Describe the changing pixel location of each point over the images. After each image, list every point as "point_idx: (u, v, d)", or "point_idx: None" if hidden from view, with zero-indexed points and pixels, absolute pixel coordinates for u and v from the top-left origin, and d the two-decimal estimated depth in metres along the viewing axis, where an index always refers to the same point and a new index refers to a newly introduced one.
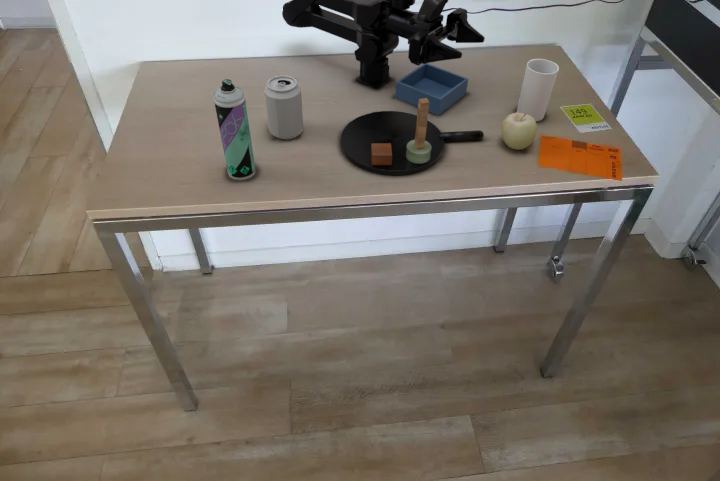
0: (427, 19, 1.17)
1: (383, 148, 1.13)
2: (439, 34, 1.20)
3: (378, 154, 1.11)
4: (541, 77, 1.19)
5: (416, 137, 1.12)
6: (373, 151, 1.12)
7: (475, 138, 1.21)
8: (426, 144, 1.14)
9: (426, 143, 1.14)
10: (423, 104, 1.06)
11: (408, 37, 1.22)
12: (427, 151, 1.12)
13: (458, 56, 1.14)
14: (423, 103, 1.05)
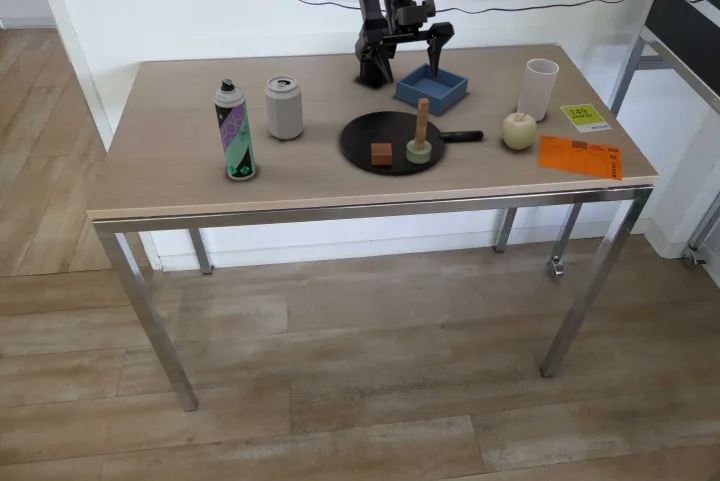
0: (398, 22, 1.08)
1: (383, 148, 1.13)
2: (405, 39, 1.11)
3: (378, 154, 1.11)
4: (541, 77, 1.19)
5: (416, 137, 1.12)
6: (373, 151, 1.12)
7: (475, 138, 1.21)
8: (426, 144, 1.14)
9: (426, 143, 1.14)
10: (423, 104, 1.06)
11: None
12: (427, 151, 1.12)
13: (389, 81, 1.11)
14: (423, 103, 1.05)
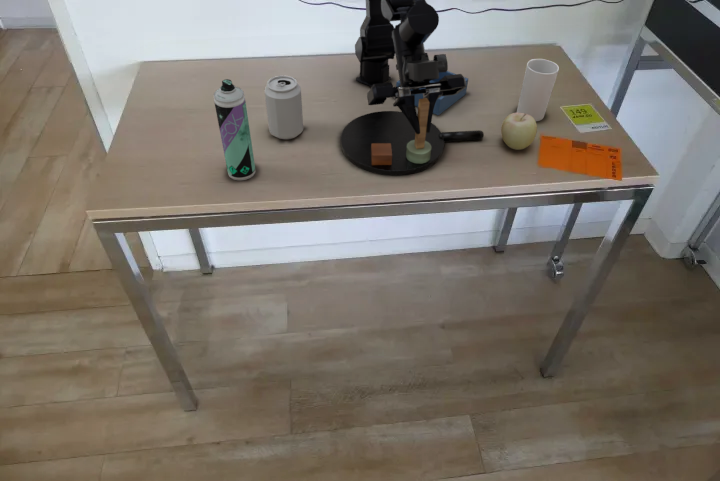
0: (408, 76, 1.05)
1: (383, 148, 1.13)
2: (415, 91, 1.09)
3: (378, 154, 1.11)
4: (541, 77, 1.19)
5: (416, 137, 1.12)
6: (373, 151, 1.12)
7: (475, 138, 1.21)
8: (426, 144, 1.14)
9: (426, 143, 1.14)
10: (423, 104, 1.06)
11: None
12: (427, 151, 1.12)
13: (416, 131, 1.10)
14: (423, 103, 1.05)
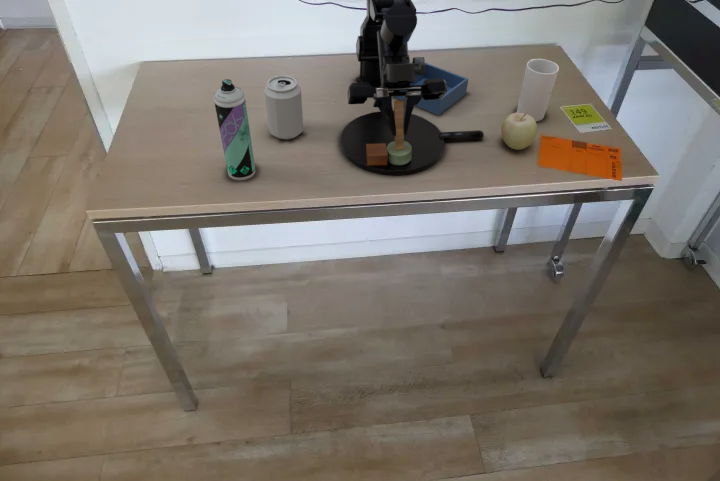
0: (386, 77, 1.05)
1: (378, 148, 1.13)
2: (395, 93, 1.08)
3: (374, 154, 1.11)
4: (541, 77, 1.19)
5: (395, 138, 1.11)
6: (368, 152, 1.12)
7: (475, 138, 1.21)
8: (406, 145, 1.13)
9: (407, 144, 1.13)
10: (397, 106, 1.05)
11: None
12: (406, 153, 1.11)
13: (392, 133, 1.09)
14: (396, 105, 1.04)
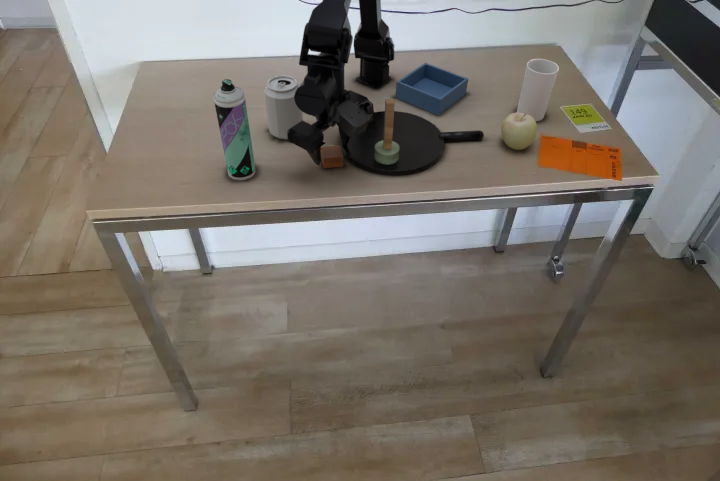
0: (337, 123, 1.05)
1: (333, 151, 1.14)
2: None
3: (329, 157, 1.12)
4: (541, 77, 1.19)
5: (383, 137, 1.11)
6: (324, 154, 1.13)
7: (475, 138, 1.21)
8: (394, 146, 1.13)
9: (395, 145, 1.14)
10: (388, 105, 1.05)
11: None
12: (393, 152, 1.12)
13: (315, 163, 1.12)
14: (387, 103, 1.05)
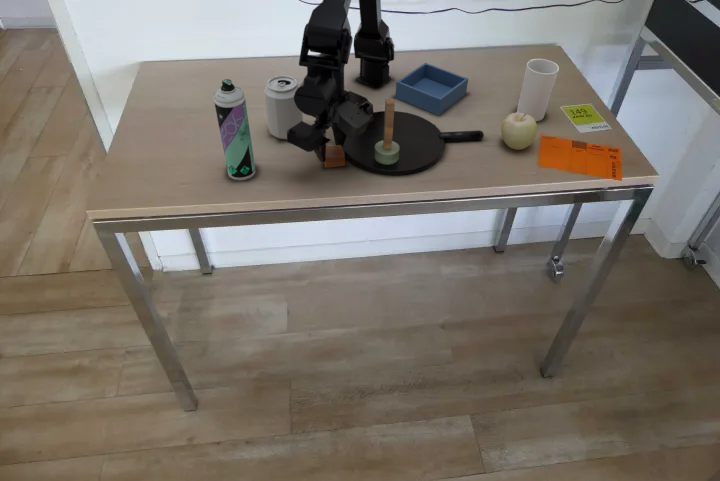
0: (336, 124, 1.05)
1: (335, 150, 1.14)
2: None
3: (331, 156, 1.12)
4: (541, 77, 1.19)
5: (383, 137, 1.11)
6: None
7: (475, 138, 1.21)
8: (394, 146, 1.13)
9: (395, 145, 1.14)
10: (388, 105, 1.05)
11: None
12: (393, 152, 1.12)
13: (320, 159, 1.13)
14: (387, 103, 1.05)
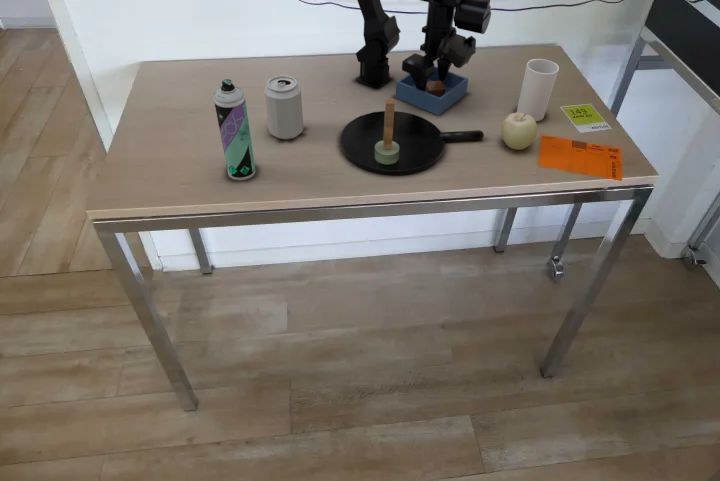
0: (445, 55, 1.23)
1: (436, 85, 1.32)
2: None
3: (434, 89, 1.30)
4: (541, 77, 1.19)
5: (383, 137, 1.11)
6: (429, 87, 1.31)
7: (475, 138, 1.21)
8: (394, 146, 1.13)
9: (395, 145, 1.14)
10: (388, 105, 1.05)
11: (427, 30, 1.22)
12: (393, 152, 1.12)
13: None
14: (387, 103, 1.05)
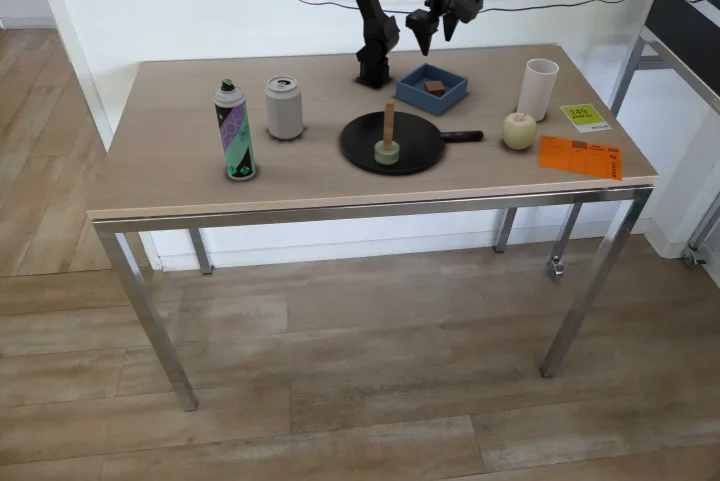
0: (451, 10, 1.16)
1: (436, 85, 1.32)
2: None
3: (434, 89, 1.30)
4: (541, 77, 1.19)
5: (383, 137, 1.11)
6: (429, 87, 1.31)
7: (475, 138, 1.21)
8: (394, 146, 1.13)
9: (395, 145, 1.14)
10: (388, 105, 1.05)
11: None
12: (393, 152, 1.12)
13: (423, 53, 1.23)
14: (387, 103, 1.05)
